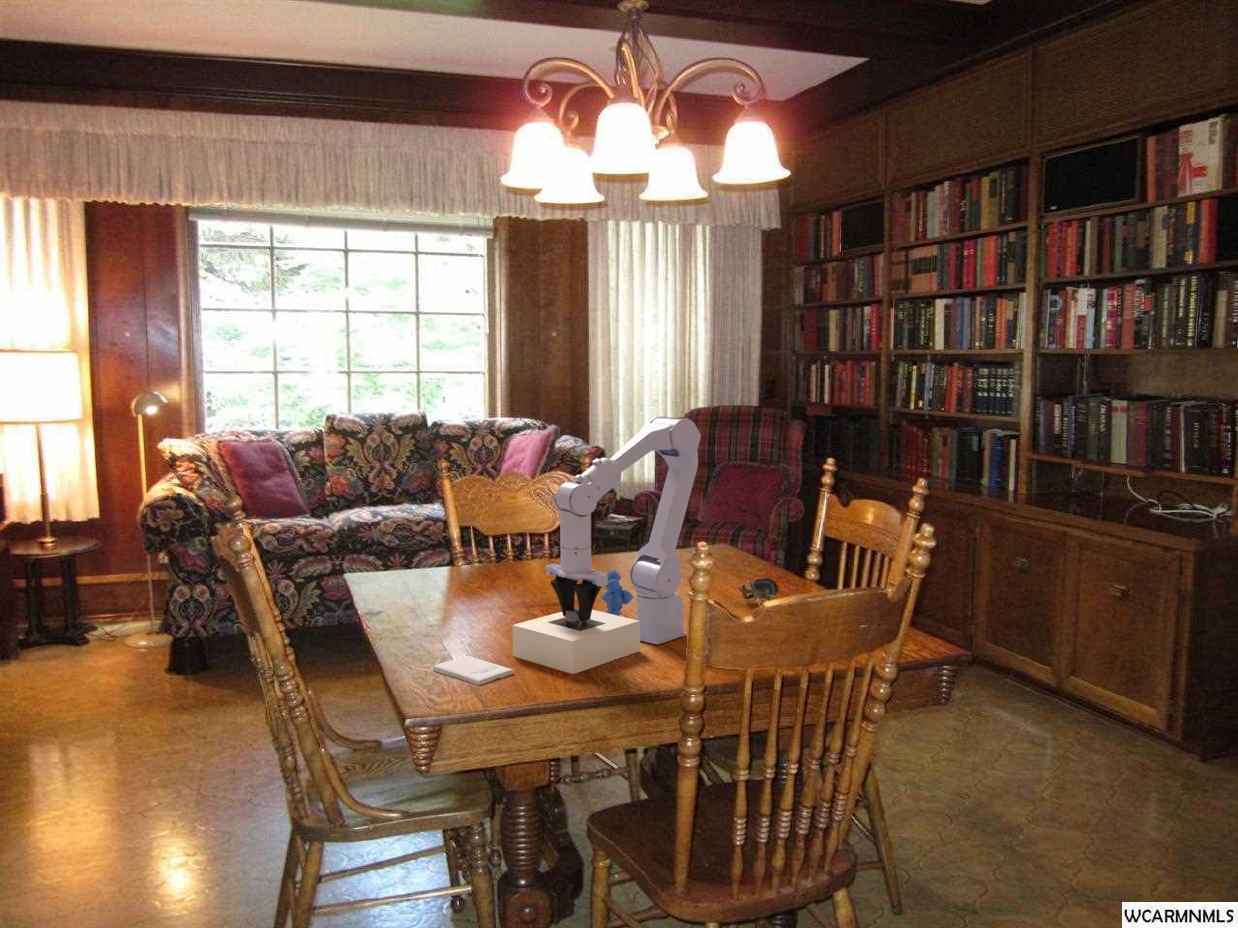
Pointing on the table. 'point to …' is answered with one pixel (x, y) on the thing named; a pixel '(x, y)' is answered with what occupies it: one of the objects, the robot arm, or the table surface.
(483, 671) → the external hard drive
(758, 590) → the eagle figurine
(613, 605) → the grapes
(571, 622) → the dark grey rounded piece
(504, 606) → the table surface
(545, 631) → the box
